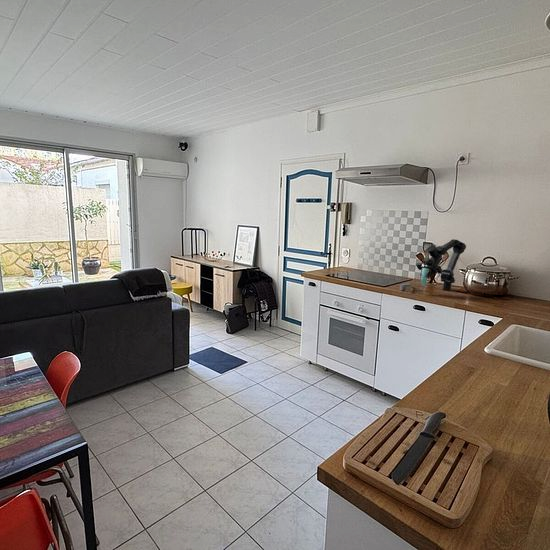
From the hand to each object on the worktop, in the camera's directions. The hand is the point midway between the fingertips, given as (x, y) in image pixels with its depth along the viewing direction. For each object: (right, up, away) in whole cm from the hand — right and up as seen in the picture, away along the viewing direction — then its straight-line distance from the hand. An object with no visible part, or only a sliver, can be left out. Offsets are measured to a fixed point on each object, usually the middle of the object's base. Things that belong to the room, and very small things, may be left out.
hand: (423, 276), depth 256 cm
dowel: (+1, -6, +2) cm, 7 cm away
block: (-4, -11, +11) cm, 16 cm away
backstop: (-7, -10, +16) cm, 21 cm away
